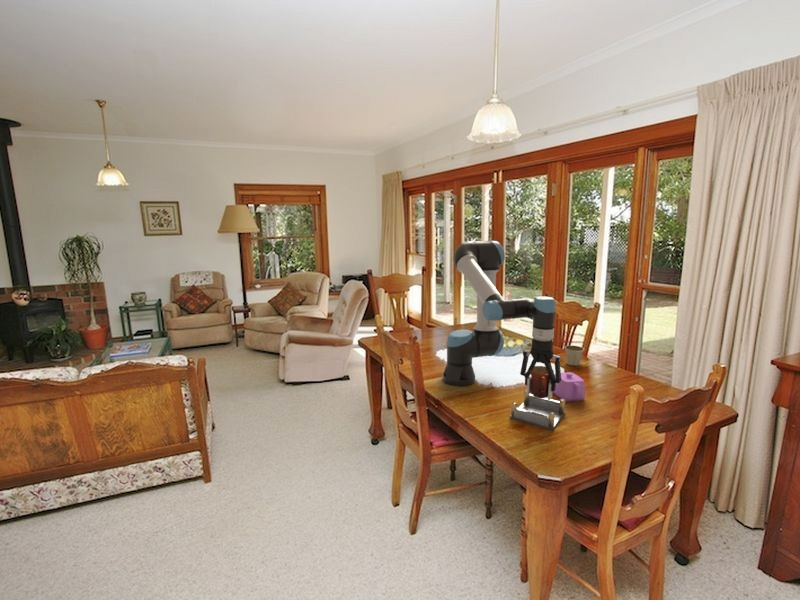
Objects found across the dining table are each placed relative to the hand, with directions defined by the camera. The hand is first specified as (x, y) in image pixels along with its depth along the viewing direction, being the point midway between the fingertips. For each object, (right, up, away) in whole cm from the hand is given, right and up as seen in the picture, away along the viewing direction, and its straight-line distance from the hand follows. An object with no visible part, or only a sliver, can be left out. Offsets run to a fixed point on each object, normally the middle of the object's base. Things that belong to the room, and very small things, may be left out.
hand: (539, 395), depth 157 cm
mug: (+1, 0, 0) cm, 1 cm away
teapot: (+19, -5, +20) cm, 28 cm away
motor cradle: (0, -8, +2) cm, 8 cm away
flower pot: (+37, +3, +57) cm, 68 cm away
